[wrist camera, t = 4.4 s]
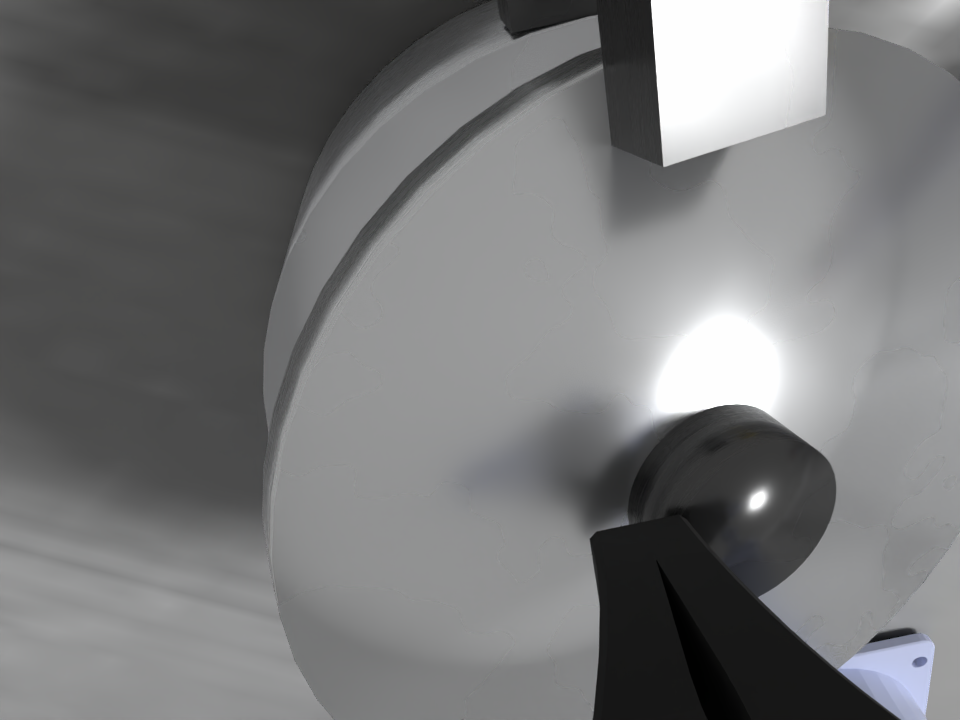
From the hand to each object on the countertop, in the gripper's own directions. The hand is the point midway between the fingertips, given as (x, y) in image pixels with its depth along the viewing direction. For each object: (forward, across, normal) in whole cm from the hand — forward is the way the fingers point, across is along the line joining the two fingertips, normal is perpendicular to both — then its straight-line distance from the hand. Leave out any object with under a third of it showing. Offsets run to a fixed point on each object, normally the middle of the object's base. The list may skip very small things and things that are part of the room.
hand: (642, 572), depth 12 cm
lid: (+3, -1, -3) cm, 4 cm away
